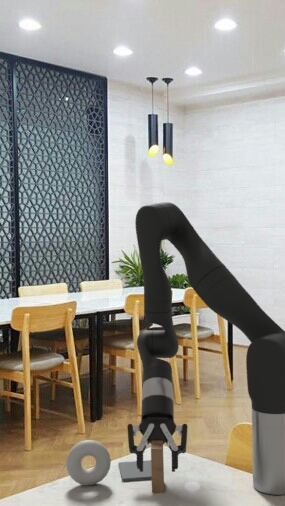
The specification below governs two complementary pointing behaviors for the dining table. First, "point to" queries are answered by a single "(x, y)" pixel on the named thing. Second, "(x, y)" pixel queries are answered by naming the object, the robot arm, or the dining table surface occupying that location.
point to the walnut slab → (157, 466)
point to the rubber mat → (135, 471)
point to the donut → (87, 475)
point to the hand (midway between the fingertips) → (157, 470)
